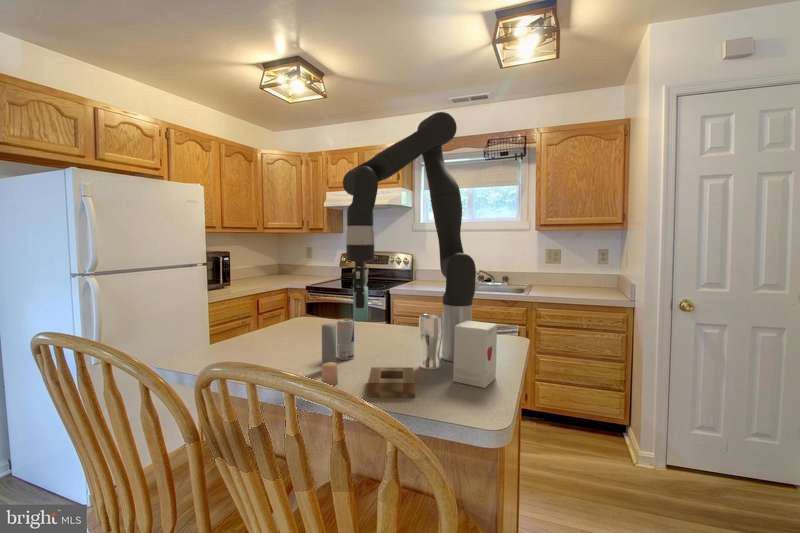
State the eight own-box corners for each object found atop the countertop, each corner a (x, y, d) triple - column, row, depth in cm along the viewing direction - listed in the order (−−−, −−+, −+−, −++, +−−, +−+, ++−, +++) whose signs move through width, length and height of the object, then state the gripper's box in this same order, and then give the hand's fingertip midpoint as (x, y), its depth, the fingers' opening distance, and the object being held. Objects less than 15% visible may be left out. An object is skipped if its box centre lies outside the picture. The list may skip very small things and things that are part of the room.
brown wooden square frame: (413, 380, 100) (413, 367, 100) (414, 397, 89) (414, 382, 89) (371, 380, 100) (371, 367, 100) (368, 397, 89) (367, 382, 89)
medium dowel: (368, 318, 105) (368, 286, 105) (367, 321, 101) (367, 287, 101) (354, 318, 105) (354, 286, 105) (352, 321, 101) (352, 288, 101)
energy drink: (355, 355, 122) (355, 318, 121) (352, 360, 117) (352, 322, 116) (339, 355, 122) (339, 318, 122) (335, 360, 117) (334, 321, 116)
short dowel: (338, 381, 100) (338, 362, 99) (336, 386, 96) (336, 367, 95) (323, 381, 100) (323, 362, 99) (320, 386, 96) (320, 367, 95)
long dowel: (337, 368, 110) (337, 323, 109) (335, 373, 106) (334, 326, 105) (323, 368, 110) (323, 323, 109) (320, 373, 106) (320, 326, 105)
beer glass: (444, 364, 114) (445, 314, 113) (439, 371, 107) (439, 319, 106) (422, 361, 116) (422, 313, 115) (415, 368, 110) (415, 317, 109)
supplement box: (485, 389, 95) (486, 329, 94) (452, 382, 99) (453, 325, 98) (496, 378, 102) (498, 323, 101) (465, 372, 107) (466, 319, 106)
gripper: (372, 243, 95) (372, 311, 96) (375, 243, 109) (376, 302, 110) (342, 243, 95) (343, 311, 96) (349, 243, 109) (350, 302, 110)
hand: (360, 306), depth 103 cm, fingers closed on medium dowel, 4 cm apart
